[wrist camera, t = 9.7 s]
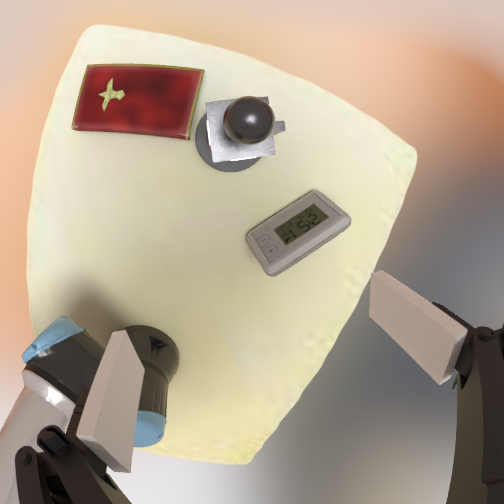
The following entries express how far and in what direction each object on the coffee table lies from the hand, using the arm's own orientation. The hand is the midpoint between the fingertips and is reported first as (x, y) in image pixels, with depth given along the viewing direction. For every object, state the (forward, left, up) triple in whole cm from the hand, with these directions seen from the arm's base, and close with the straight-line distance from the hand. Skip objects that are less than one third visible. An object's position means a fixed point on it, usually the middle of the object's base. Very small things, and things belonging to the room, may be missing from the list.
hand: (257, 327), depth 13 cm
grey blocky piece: (+3, +12, -35) cm, 37 cm away
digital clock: (+11, -5, -36) cm, 38 cm away
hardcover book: (-12, +21, -37) cm, 44 cm away
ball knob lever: (+3, +12, -33) cm, 35 cm away
